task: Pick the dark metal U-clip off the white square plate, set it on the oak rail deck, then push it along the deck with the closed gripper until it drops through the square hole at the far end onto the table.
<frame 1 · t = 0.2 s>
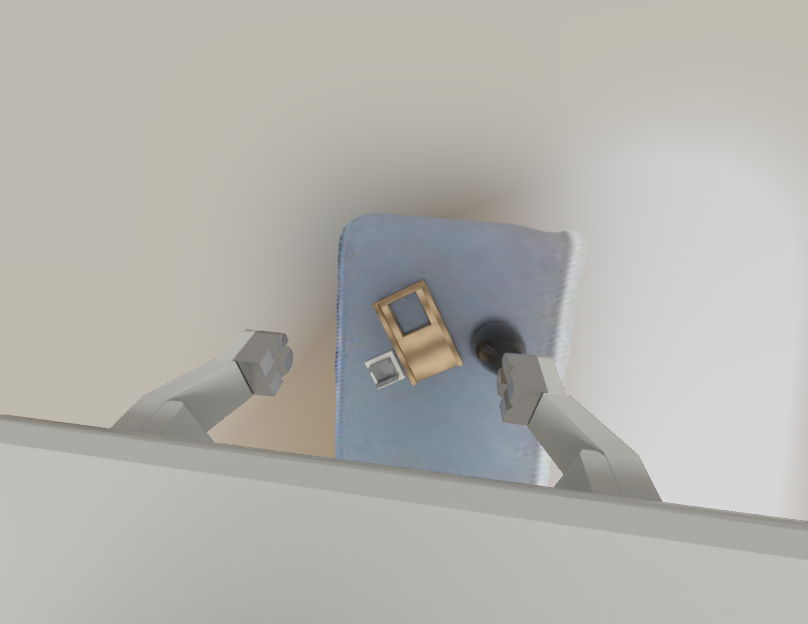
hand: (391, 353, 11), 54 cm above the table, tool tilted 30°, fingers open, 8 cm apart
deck: (418, 330, 66), on the table
white square plate: (385, 368, 68), on the table
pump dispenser: (493, 341, 64), on the table
clip: (384, 370, 67), point 1 cm above the table, touching white square plate
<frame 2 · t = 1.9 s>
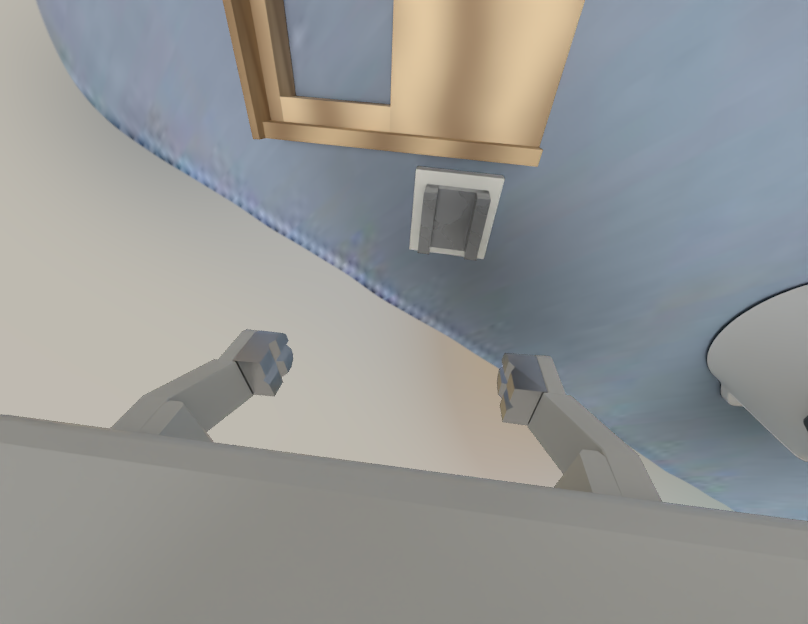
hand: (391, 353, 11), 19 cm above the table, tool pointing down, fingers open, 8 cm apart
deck: (406, 42, 20), on the table
white square plate: (452, 212, 26), on the table
clip: (452, 217, 25), point 1 cm above the table, touching white square plate
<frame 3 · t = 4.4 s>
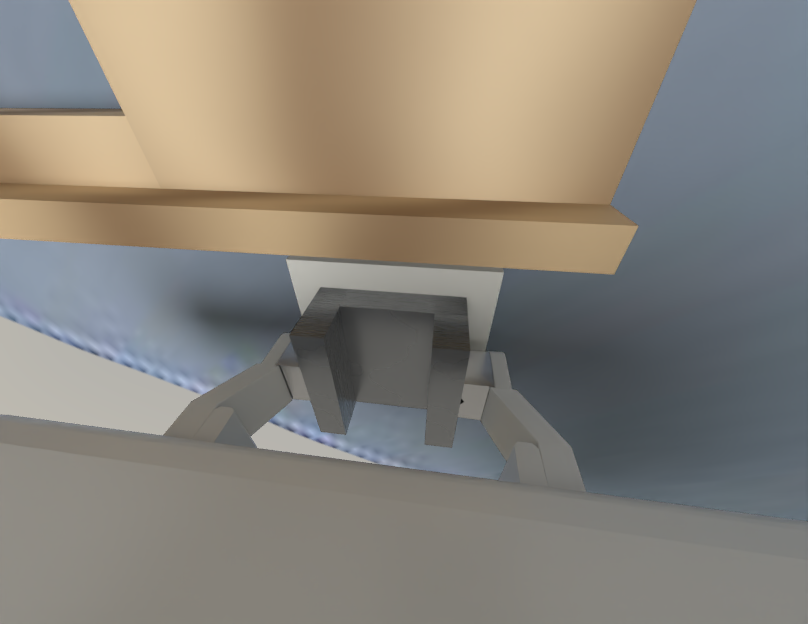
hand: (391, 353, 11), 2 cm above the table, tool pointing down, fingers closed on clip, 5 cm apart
white square plate: (397, 325, 12), on the table
clip: (393, 345, 11), point 1 cm above the table, touching gripper, white square plate
when the fingers open (4 cm above the table, at t = 8.4 s): clip drops 1 cm, resting on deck.
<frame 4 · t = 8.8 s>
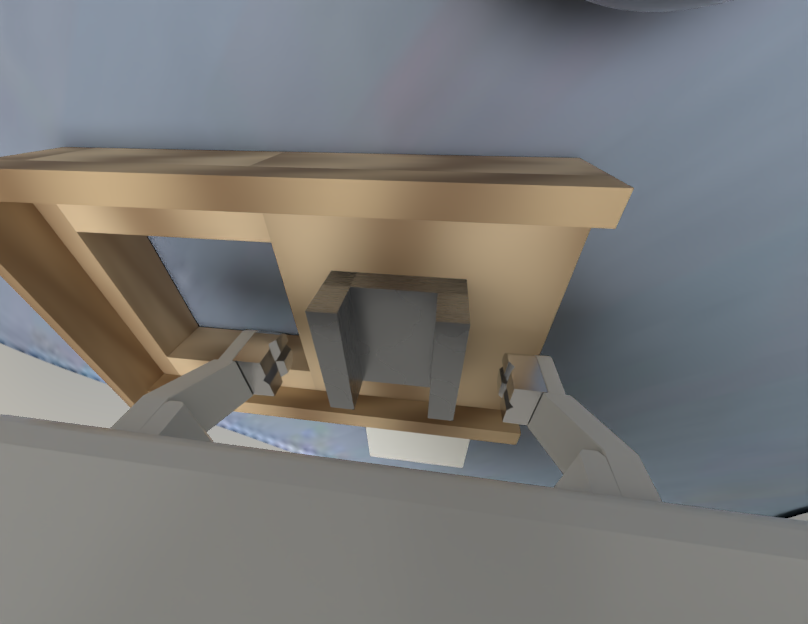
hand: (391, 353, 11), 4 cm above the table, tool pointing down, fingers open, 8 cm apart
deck: (324, 287, 15), on the table
white square plate: (418, 421, 21), on the table
clip: (398, 326, 12), point 2 cm above the table, touching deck
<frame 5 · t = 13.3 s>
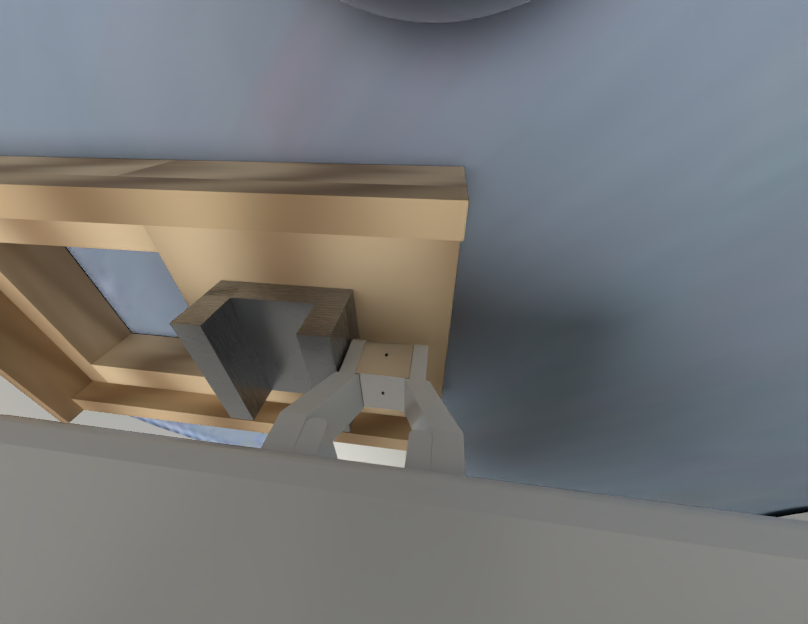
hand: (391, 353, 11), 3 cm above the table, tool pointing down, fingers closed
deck: (244, 295, 14), on the table
white square plate: (363, 428, 21), on the table
clip: (300, 336, 12), point 3 cm above the table, touching gripper
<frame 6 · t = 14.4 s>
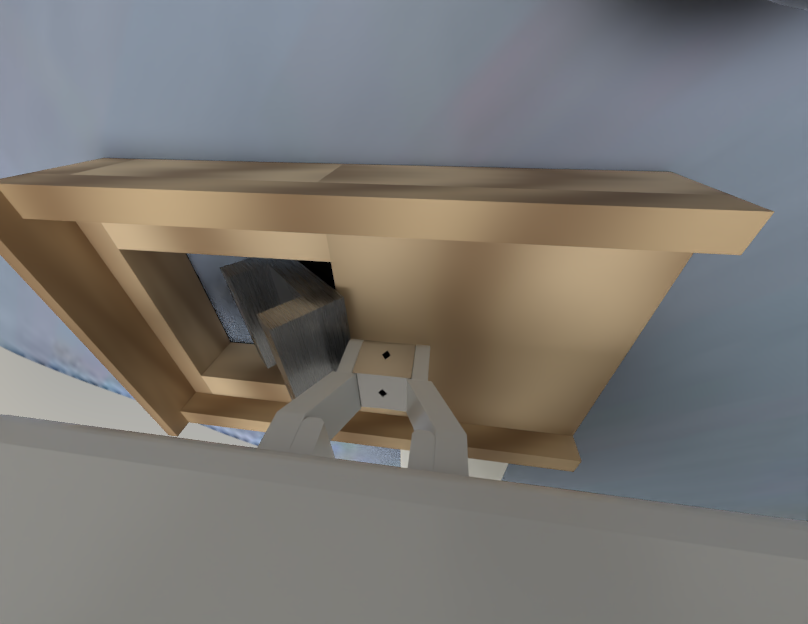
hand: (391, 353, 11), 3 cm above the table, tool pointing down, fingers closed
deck: (370, 304, 14), on the table
white square plate: (453, 439, 20), on the table
clip: (320, 320, 13), point 2 cm above the table, tilted 41°, touching gripper
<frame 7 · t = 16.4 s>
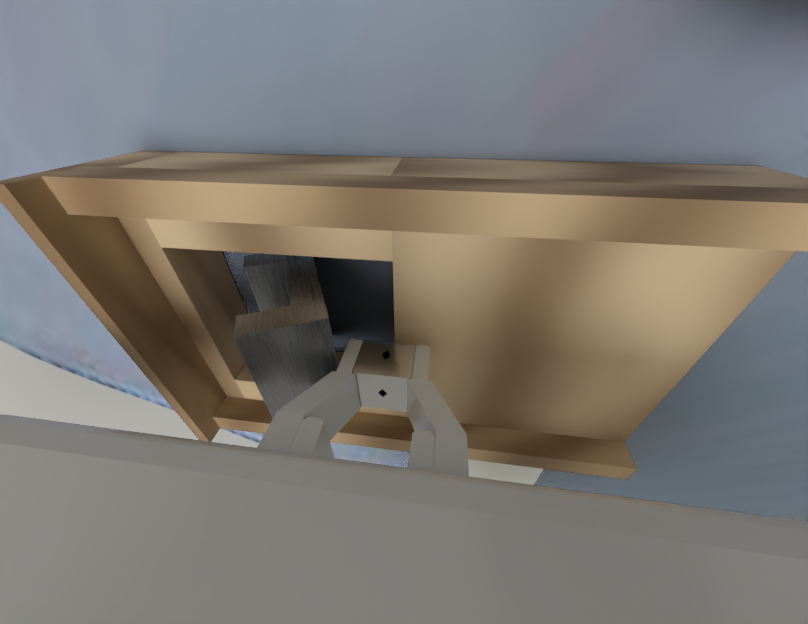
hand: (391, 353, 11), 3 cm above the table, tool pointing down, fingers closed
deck: (414, 305, 13), on the table
white square plate: (485, 443, 19), on the table
clip: (329, 329, 12), point 2 cm above the table, tilted 63°
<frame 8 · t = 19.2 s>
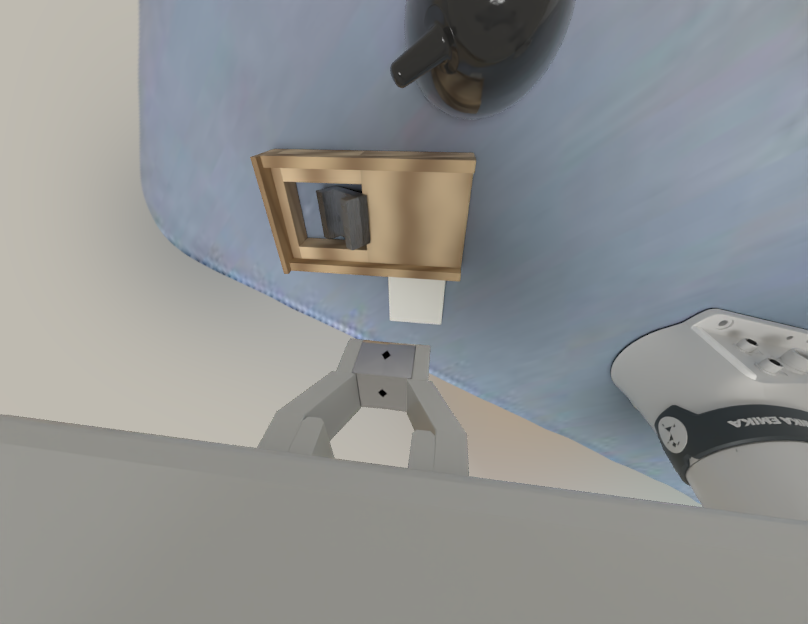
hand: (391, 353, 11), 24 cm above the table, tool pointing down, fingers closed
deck: (374, 211, 32), on the table
white square plate: (416, 296, 39), on the table
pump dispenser: (475, 38, 23), on the table
clip: (353, 214, 31), point 1 cm above the table, tilted 36°
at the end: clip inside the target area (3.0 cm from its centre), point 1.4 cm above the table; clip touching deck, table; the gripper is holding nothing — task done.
